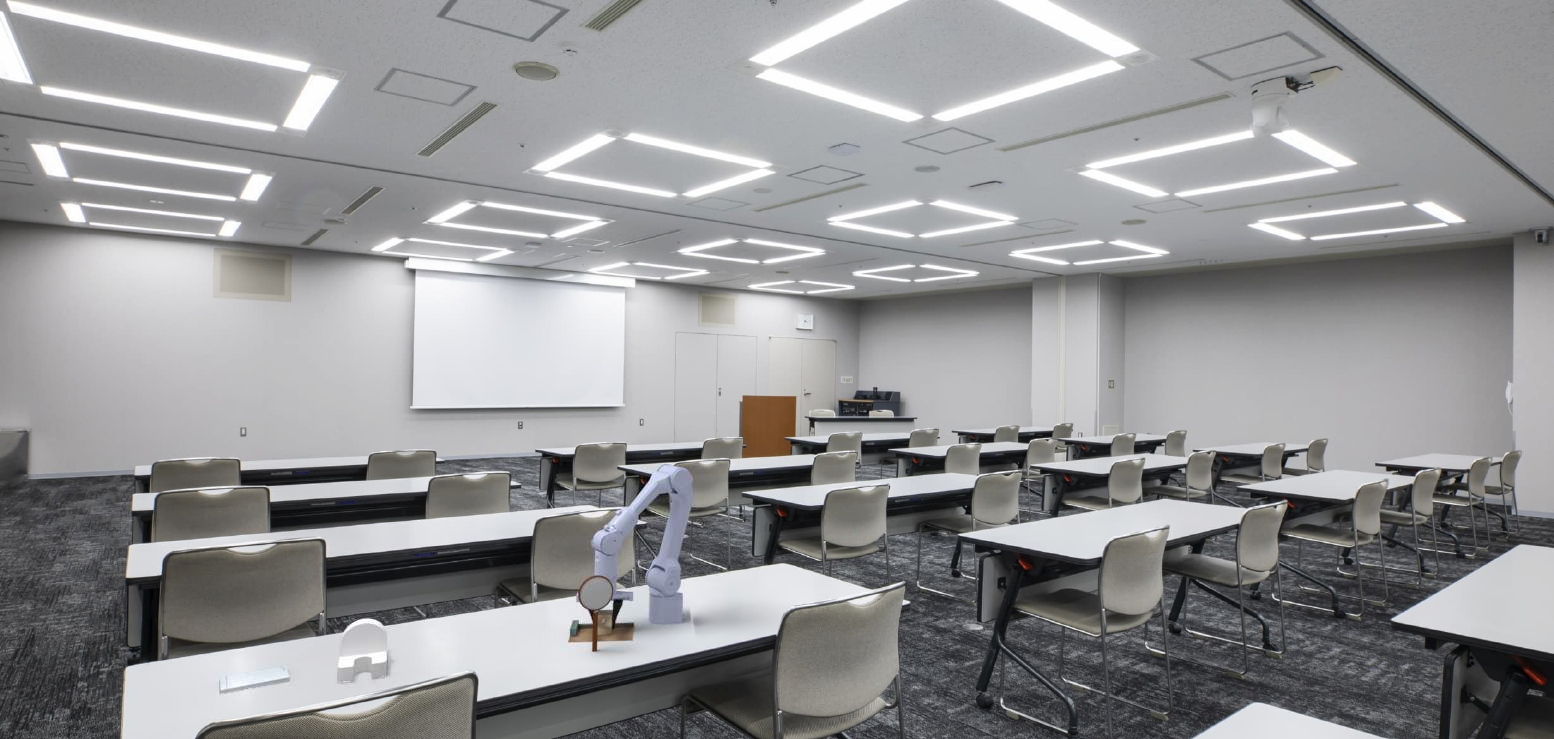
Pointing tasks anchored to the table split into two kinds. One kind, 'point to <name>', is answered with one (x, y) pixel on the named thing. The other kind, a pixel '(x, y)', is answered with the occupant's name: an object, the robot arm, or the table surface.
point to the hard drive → (254, 679)
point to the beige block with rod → (605, 622)
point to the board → (586, 630)
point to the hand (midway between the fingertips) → (604, 628)
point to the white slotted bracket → (363, 650)
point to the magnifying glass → (595, 599)
